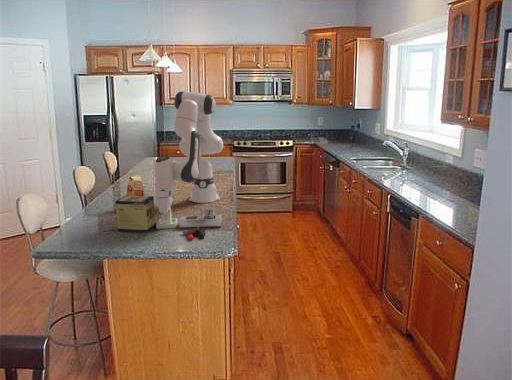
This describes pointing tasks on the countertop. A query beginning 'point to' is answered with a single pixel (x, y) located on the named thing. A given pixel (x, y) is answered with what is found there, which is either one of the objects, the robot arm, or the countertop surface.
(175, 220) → the tray
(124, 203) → the protein box
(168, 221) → the plug
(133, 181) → the milk carton
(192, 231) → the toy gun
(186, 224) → the grey box with openings
